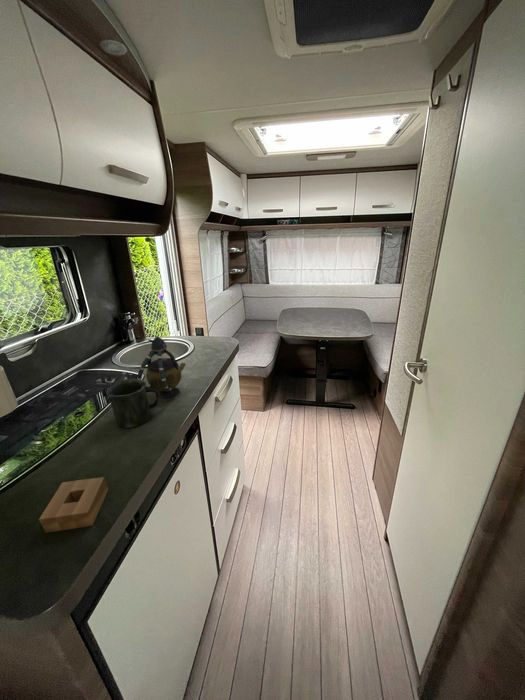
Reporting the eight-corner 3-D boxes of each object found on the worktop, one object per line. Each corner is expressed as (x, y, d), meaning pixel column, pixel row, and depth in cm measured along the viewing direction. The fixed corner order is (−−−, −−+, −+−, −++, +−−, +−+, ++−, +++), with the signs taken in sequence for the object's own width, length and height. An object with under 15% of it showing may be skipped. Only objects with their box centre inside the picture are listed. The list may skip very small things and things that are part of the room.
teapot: (140, 407, 97) (125, 345, 88) (172, 373, 120) (162, 322, 111) (172, 409, 95) (160, 346, 86) (198, 375, 118) (191, 322, 109)
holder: (45, 533, 56) (38, 519, 55) (67, 494, 64) (62, 482, 63) (92, 525, 57) (87, 512, 56) (108, 489, 65) (104, 476, 64)
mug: (118, 413, 94) (109, 382, 89) (163, 404, 98) (157, 374, 93) (112, 433, 84) (102, 399, 80) (162, 422, 88) (156, 390, 84)
